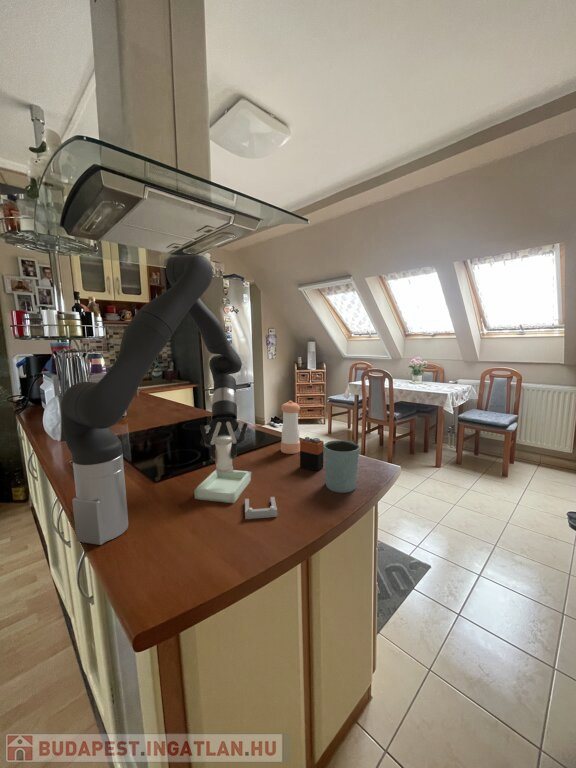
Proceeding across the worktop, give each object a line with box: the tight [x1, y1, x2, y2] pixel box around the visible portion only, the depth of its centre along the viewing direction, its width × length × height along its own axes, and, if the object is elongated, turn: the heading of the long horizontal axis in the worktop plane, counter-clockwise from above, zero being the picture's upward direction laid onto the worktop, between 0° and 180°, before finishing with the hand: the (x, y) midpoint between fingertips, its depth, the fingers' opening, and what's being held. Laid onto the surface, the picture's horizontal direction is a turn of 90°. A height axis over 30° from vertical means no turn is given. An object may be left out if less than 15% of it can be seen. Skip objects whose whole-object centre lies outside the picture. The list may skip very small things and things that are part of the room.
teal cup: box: [323, 440, 360, 494], centre depth 91 cm, size 10×10×12 cm
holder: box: [244, 496, 278, 520], centre depth 79 cm, size 7×8×2 cm
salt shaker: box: [280, 400, 301, 455], centre depth 119 cm, size 7×7×19 cm
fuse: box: [214, 435, 234, 475], centre depth 89 cm, size 5×5×10 cm
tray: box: [193, 469, 252, 504], centre depth 90 cm, size 14×11×3 cm
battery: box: [299, 436, 325, 472], centre depth 104 cm, size 4×7×10 cm, turn 57°
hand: (223, 458), depth 87 cm, fingers closed on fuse, 4 cm apart
